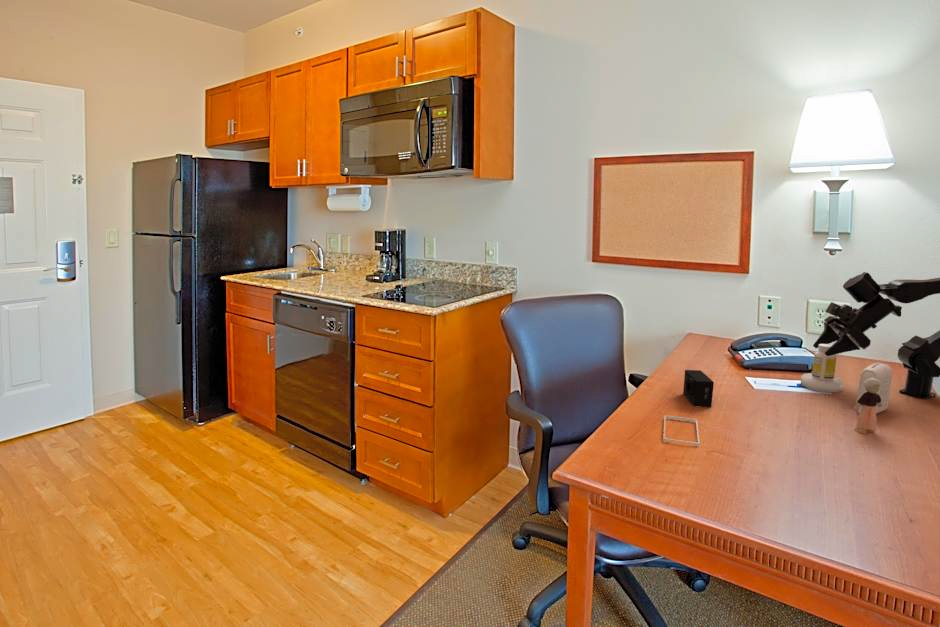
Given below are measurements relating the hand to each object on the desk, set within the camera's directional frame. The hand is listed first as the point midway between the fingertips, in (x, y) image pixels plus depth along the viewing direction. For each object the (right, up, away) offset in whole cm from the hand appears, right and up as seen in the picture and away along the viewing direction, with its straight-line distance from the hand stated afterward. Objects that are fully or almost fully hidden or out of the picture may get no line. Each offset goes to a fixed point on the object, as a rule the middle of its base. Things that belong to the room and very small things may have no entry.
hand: (819, 350), depth 161 cm
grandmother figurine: (-8, -17, -30) cm, 36 cm away
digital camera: (-40, -13, -11) cm, 43 cm away
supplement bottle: (+1, -8, +1) cm, 8 cm away
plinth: (+1, -10, +2) cm, 11 cm away
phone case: (-52, -17, -32) cm, 63 cm away
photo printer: (+2, -14, -17) cm, 23 cm away
